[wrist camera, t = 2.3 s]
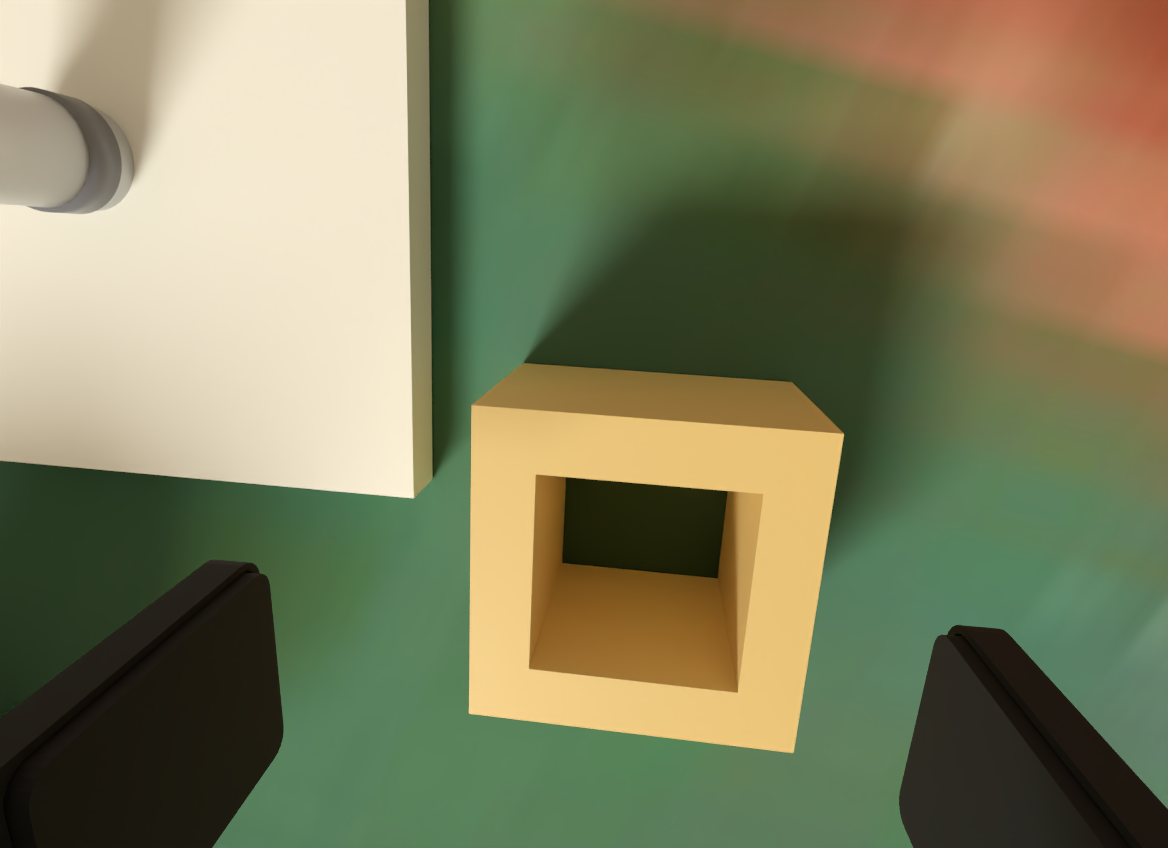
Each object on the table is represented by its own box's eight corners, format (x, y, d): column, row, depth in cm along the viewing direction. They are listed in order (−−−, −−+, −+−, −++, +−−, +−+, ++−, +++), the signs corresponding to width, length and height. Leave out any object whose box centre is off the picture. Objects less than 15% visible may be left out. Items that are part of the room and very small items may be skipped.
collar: (791, 381, 17) (843, 433, 12) (759, 624, 19) (793, 752, 14) (523, 363, 18) (471, 404, 13) (516, 599, 19) (469, 713, 15)
